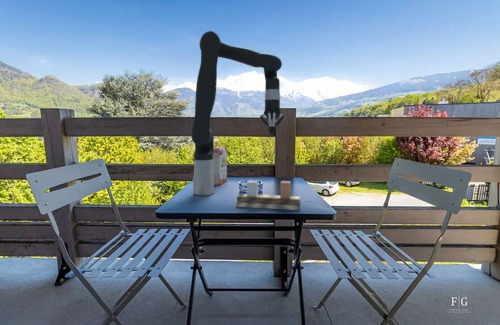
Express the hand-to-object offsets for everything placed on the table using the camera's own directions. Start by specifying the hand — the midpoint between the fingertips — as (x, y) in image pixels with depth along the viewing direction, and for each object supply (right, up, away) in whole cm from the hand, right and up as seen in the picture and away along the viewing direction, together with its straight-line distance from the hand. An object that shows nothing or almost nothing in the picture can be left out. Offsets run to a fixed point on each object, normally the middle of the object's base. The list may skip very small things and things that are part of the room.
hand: (272, 134), depth 139 cm
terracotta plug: (+4, -31, -22) cm, 38 cm away
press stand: (-3, -32, -19) cm, 38 cm away
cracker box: (-29, -27, +20) cm, 44 cm away
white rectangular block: (-10, -31, -21) cm, 39 cm away
